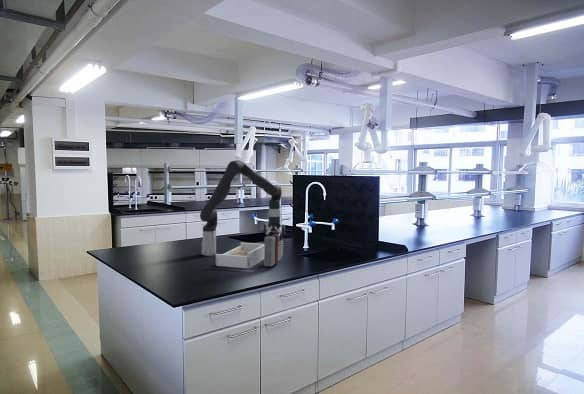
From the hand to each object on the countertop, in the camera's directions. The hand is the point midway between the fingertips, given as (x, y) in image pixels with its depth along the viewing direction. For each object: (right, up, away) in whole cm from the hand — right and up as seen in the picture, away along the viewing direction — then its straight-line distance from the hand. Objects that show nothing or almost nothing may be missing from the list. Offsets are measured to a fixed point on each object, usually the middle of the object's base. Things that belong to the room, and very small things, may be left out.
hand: (274, 240), depth 240 cm
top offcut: (-23, -11, +8) cm, 27 cm away
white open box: (-20, -15, +6) cm, 25 cm away
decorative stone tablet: (0, -15, +1) cm, 15 cm away
